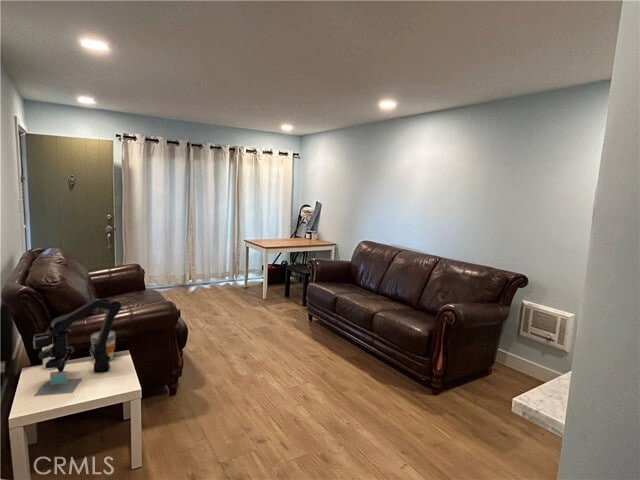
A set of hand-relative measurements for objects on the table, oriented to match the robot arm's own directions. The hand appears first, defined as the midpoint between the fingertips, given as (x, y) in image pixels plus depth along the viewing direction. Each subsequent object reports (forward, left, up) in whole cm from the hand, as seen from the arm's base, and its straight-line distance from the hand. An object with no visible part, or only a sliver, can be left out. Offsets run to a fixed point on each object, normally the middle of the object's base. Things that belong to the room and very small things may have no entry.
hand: (60, 372), depth 184 cm
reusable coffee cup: (-13, -23, -5) cm, 27 cm away
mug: (+11, -19, -5) cm, 23 cm away
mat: (-1, +6, -5) cm, 8 cm away
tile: (0, +3, -5) cm, 5 cm away
